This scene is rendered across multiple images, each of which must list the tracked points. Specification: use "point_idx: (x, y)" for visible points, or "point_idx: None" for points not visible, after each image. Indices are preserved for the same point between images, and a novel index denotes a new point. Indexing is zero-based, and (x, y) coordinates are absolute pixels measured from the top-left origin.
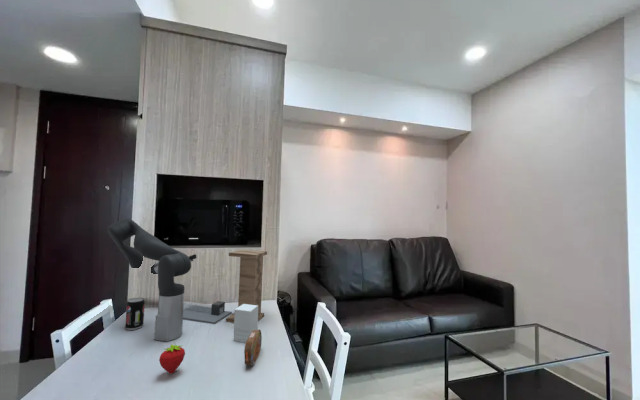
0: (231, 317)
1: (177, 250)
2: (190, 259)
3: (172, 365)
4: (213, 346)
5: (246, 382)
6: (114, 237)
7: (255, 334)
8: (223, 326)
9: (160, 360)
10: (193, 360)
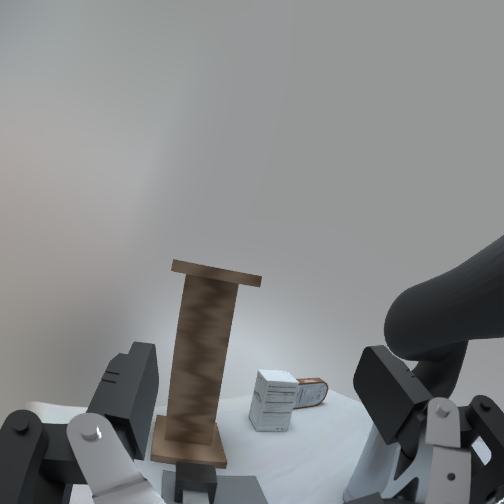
0: (214, 455)
1: (430, 279)
2: (141, 451)
3: None
4: (321, 439)
5: (334, 398)
6: None
7: (306, 379)
8: (252, 462)
9: None
10: (361, 434)
